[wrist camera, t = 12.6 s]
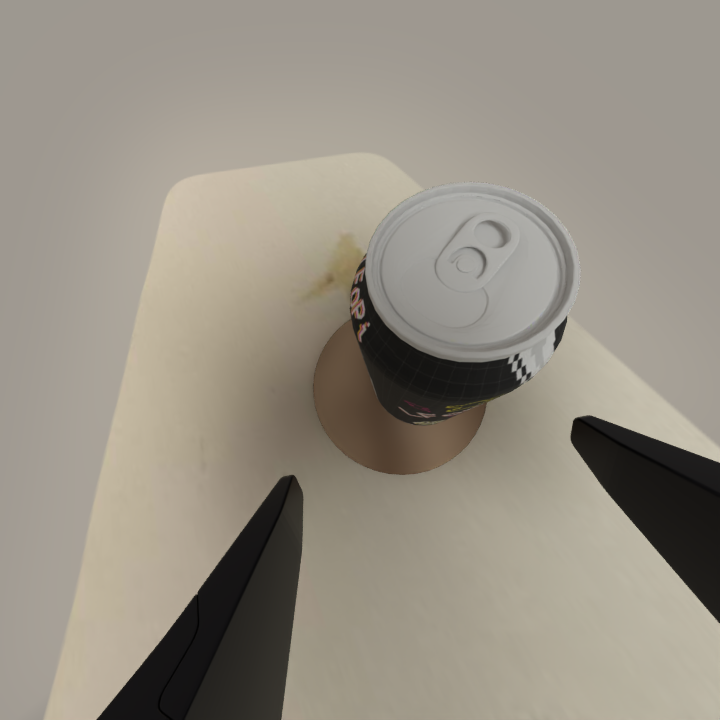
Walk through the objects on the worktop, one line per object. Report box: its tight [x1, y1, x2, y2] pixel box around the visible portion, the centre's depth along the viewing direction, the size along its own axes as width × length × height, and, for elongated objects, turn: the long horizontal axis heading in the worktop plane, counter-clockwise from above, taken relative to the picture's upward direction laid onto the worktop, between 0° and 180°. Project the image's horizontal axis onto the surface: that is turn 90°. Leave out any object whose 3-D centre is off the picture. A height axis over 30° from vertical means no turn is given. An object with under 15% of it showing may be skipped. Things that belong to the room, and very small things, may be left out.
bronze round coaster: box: [313, 319, 487, 475], centre depth 18 cm, size 11×11×1 cm
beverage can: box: [350, 182, 580, 426], centre depth 12 cm, size 6×6×12 cm
